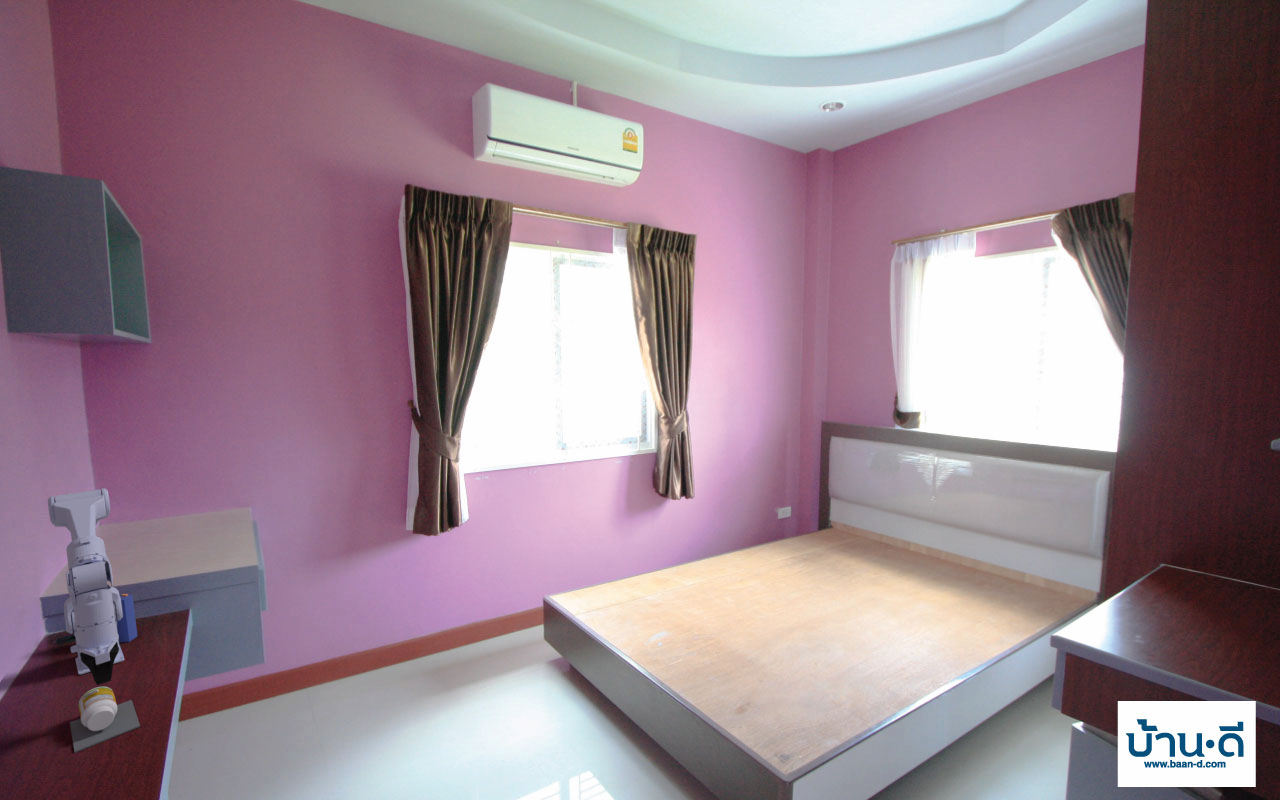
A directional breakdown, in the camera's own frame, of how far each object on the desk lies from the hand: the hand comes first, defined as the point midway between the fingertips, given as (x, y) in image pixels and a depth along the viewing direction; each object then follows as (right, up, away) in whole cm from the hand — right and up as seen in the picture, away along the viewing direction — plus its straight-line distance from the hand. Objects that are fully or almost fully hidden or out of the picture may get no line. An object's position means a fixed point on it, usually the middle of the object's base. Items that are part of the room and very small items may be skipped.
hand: (103, 681), depth 116 cm
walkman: (-25, -4, +30) cm, 39 cm away
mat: (+2, -8, -2) cm, 8 cm away
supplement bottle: (-4, -5, +2) cm, 6 cm away
